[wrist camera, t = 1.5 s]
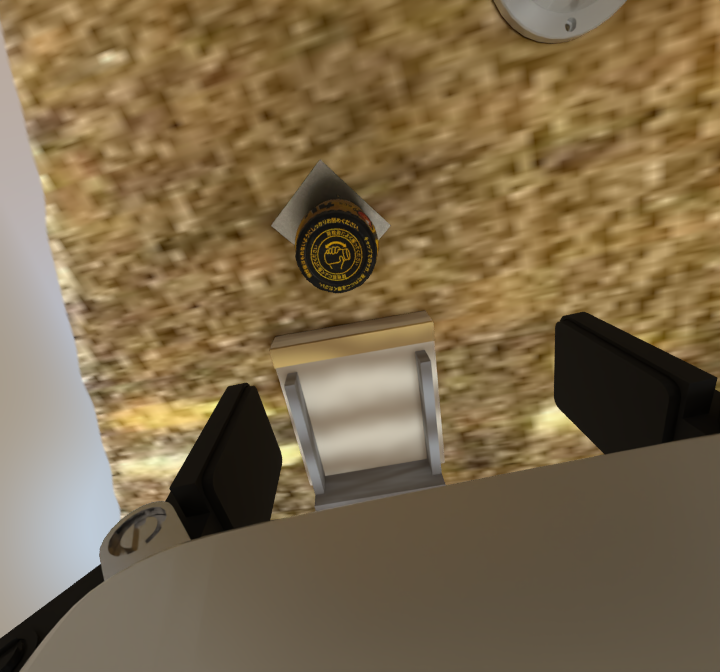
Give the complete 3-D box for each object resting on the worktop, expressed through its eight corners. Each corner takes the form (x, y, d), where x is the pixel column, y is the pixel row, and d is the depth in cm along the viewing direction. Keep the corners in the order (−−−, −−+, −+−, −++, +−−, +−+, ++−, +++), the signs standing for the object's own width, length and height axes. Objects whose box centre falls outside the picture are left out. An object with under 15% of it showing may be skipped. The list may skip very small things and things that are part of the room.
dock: (275, 336, 36) (261, 368, 30) (425, 310, 36) (443, 336, 30) (312, 466, 43) (307, 514, 37) (438, 445, 43) (455, 489, 37)
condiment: (341, 283, 35) (342, 325, 24) (271, 225, 32) (235, 243, 21) (390, 225, 33) (416, 242, 22) (320, 159, 30) (309, 141, 19)
